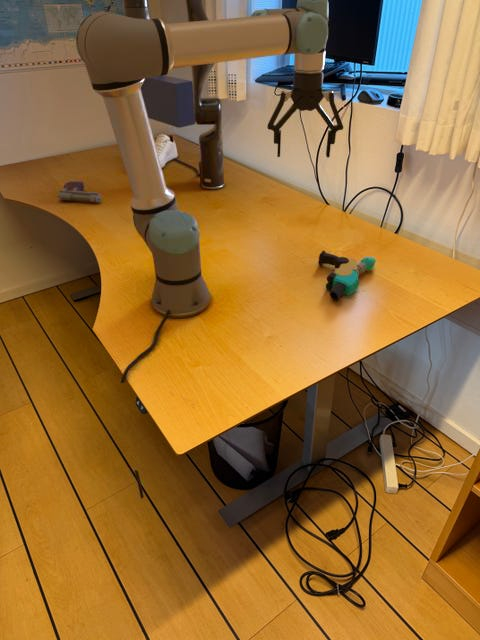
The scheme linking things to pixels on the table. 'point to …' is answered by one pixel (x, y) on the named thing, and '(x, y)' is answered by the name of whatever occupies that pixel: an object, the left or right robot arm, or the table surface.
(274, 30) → the left robot arm
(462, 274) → the table surface
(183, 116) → the box
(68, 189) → the toy gun
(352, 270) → the toy gun
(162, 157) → the sneaker
